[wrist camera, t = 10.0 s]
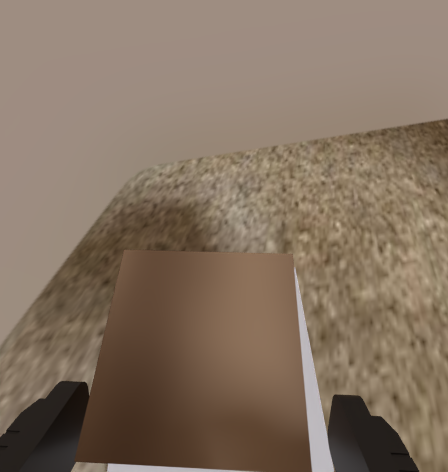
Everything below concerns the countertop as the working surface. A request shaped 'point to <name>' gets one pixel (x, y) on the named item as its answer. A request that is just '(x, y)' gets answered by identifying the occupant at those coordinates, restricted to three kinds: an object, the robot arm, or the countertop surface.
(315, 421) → the ceramic tile
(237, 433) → the walnut block
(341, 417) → the robot arm
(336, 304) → the countertop surface
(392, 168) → the countertop surface
